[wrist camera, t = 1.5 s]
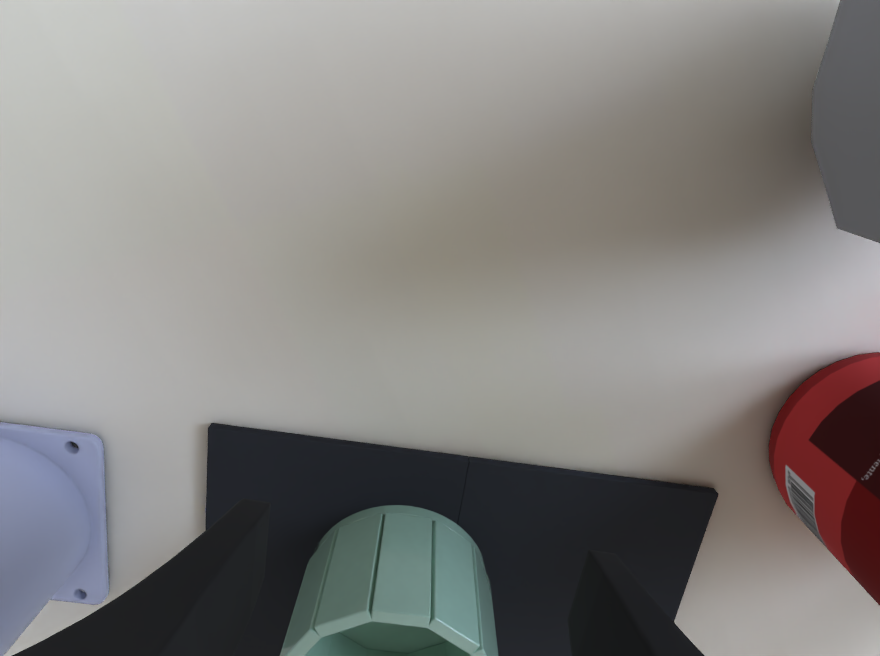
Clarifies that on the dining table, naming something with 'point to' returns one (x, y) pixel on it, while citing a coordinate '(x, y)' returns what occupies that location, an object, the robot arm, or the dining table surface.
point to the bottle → (850, 118)
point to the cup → (394, 590)
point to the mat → (473, 509)
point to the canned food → (835, 462)
